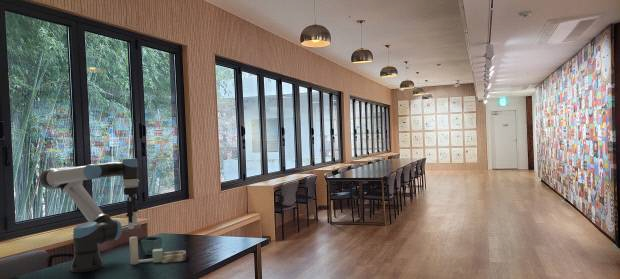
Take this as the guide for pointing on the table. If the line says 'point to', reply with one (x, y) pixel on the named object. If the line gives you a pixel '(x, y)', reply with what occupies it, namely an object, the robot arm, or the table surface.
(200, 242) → the table surface
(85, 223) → the robot arm
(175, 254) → the beige u-shaped frame
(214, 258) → the table surface
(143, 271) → the table surface
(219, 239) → the table surface
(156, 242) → the flower pot
